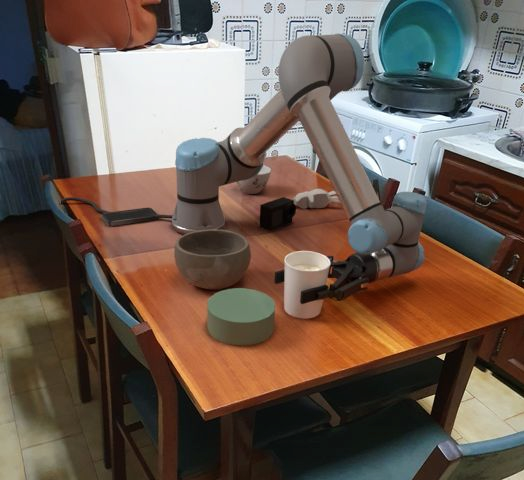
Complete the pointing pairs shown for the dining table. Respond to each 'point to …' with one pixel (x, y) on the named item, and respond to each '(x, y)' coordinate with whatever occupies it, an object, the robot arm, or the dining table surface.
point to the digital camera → (276, 213)
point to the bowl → (212, 258)
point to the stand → (240, 316)
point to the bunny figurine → (314, 199)
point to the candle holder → (304, 281)
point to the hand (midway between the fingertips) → (288, 287)
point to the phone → (129, 216)
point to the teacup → (255, 181)
